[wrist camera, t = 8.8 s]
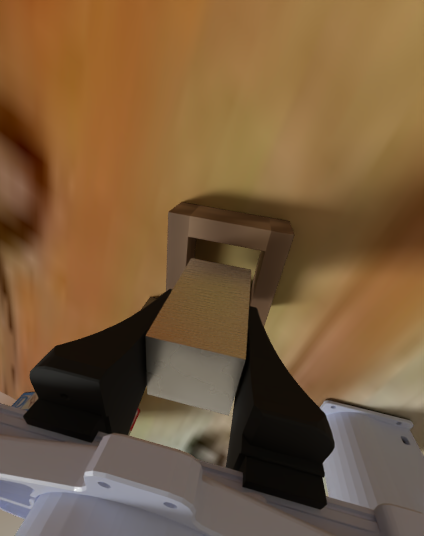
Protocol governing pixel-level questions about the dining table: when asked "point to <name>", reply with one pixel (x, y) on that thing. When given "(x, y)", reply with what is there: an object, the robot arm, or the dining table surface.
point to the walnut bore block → (234, 233)
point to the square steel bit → (200, 337)
